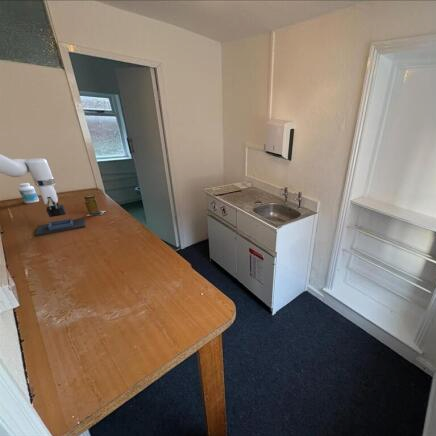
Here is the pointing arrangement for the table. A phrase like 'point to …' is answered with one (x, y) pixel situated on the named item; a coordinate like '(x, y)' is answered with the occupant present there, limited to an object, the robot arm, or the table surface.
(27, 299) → the table surface
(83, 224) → the base pad
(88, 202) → the condiment
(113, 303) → the table surface
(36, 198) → the pill bottle
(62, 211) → the dark grey block
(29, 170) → the robot arm
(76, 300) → the table surface
